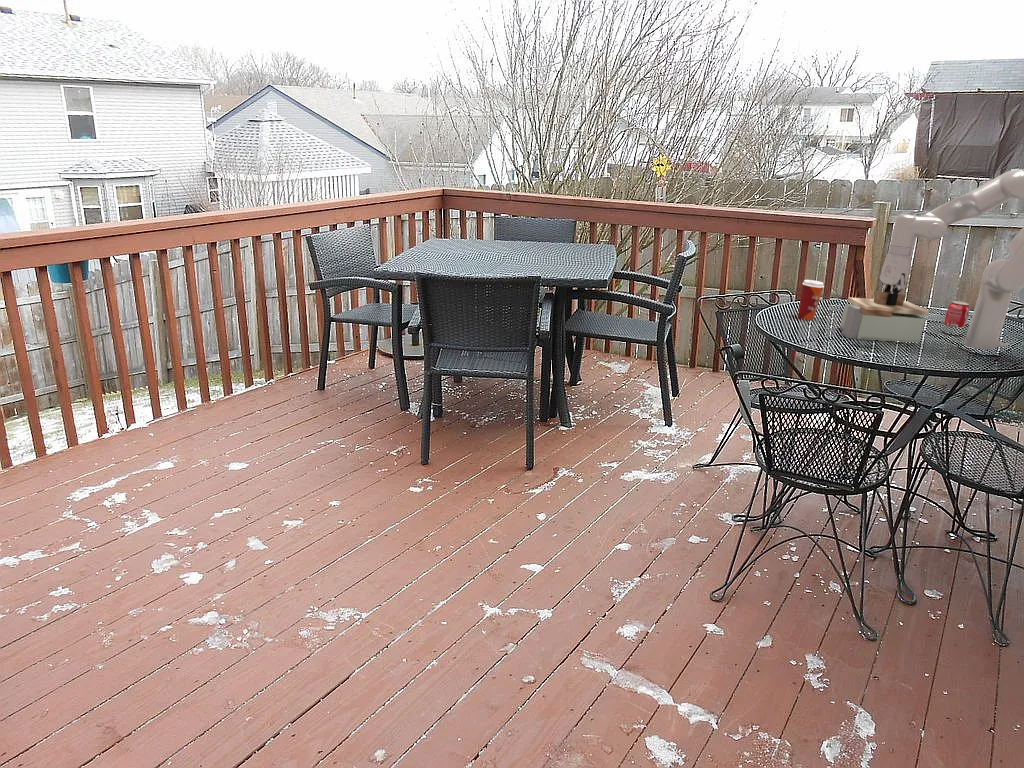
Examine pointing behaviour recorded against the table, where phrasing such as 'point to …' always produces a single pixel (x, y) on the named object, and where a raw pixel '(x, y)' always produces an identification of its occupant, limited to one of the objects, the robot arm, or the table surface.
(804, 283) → the paper cup
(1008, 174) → the robot arm
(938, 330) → the table surface
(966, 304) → the soda can
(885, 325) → the toolbox
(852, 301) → the lid
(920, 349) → the table surface
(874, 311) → the wooden block
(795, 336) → the table surface
